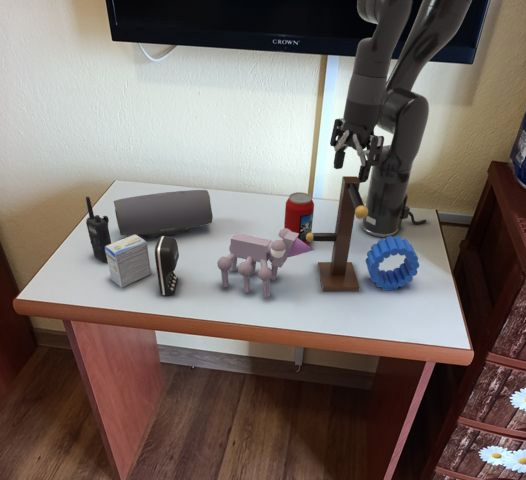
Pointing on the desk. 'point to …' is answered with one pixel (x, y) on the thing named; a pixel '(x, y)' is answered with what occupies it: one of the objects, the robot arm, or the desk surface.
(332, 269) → the hook stand
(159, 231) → the bluetooth speaker
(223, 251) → the desk surface
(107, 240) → the two-way radio
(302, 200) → the beverage can
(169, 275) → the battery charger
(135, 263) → the medicine box
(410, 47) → the robot arm
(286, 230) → the toy sheep
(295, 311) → the desk surface
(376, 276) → the ridged ring
